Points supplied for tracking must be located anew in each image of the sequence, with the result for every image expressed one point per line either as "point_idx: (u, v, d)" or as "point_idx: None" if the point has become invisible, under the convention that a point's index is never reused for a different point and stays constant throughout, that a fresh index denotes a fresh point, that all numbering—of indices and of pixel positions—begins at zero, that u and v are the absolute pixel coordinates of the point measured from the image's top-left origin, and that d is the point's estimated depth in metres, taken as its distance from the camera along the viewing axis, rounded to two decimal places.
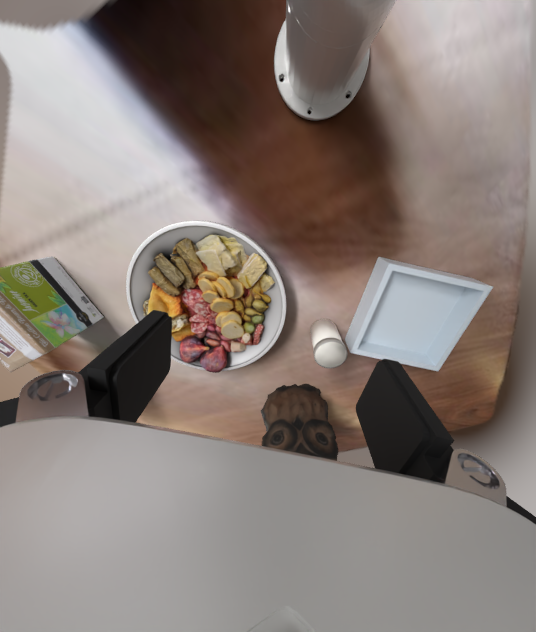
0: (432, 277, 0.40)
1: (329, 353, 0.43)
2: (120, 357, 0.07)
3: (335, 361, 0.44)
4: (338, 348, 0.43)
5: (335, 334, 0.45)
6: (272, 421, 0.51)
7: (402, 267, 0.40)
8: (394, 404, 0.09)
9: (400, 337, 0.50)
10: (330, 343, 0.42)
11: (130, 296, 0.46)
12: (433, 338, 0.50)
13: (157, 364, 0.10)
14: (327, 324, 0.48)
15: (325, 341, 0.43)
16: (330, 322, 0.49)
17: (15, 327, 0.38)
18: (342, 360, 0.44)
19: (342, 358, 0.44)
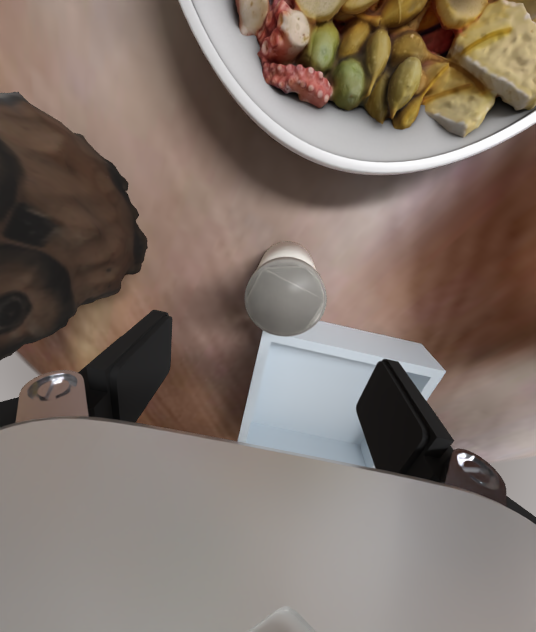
0: None
1: (290, 298, 0.17)
2: (120, 357, 0.07)
3: (266, 313, 0.18)
4: (304, 317, 0.18)
5: None
6: None
7: (432, 389, 0.24)
8: (394, 404, 0.09)
9: (278, 389, 0.31)
10: (319, 298, 0.17)
11: None
12: (277, 425, 0.34)
13: (157, 364, 0.10)
14: None
15: (323, 285, 0.17)
16: None
17: None
18: (270, 327, 0.18)
19: (275, 327, 0.18)
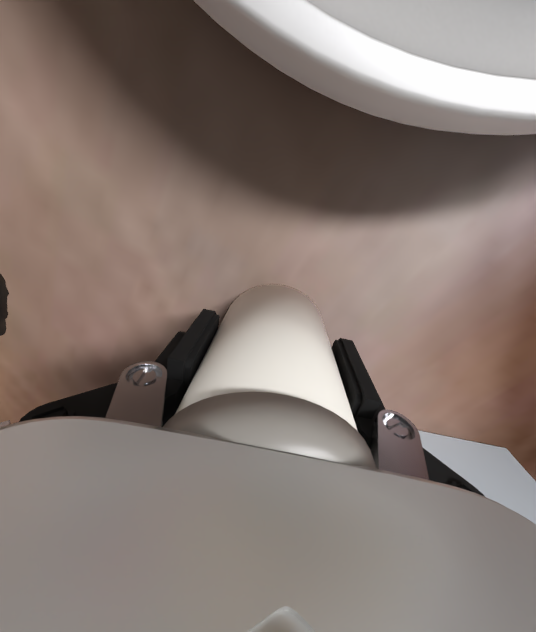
0: None
1: None
2: (191, 350, 0.08)
3: None
4: None
5: None
6: None
7: None
8: (341, 376, 0.10)
9: None
10: None
11: None
12: None
13: None
14: None
15: None
16: None
17: None
18: None
19: None
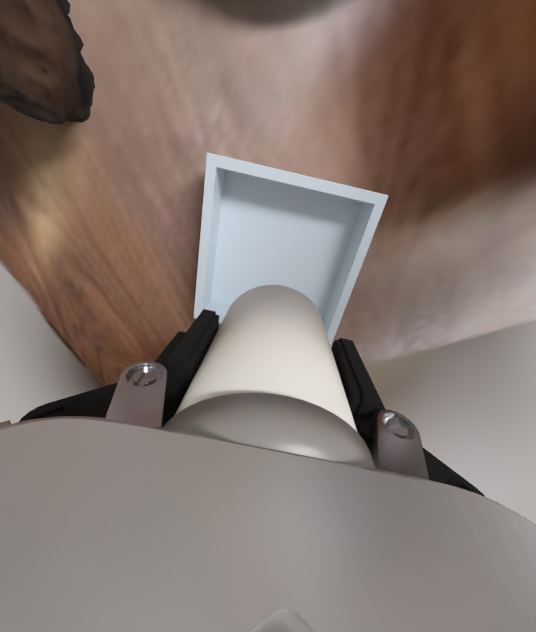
0: (353, 270, 0.27)
1: None
2: (191, 350, 0.08)
3: None
4: None
5: None
6: None
7: (377, 220, 0.25)
8: (341, 376, 0.10)
9: (236, 258, 0.31)
10: None
11: None
12: None
13: None
14: None
15: None
16: None
17: None
18: None
19: None
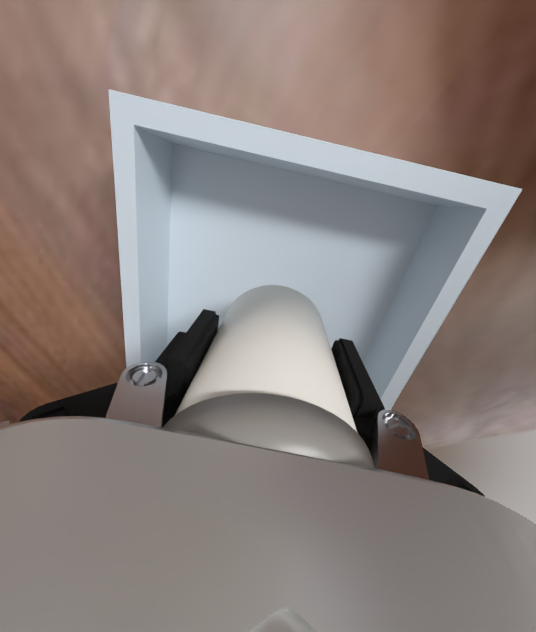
0: (421, 336, 0.14)
1: None
2: (191, 350, 0.08)
3: None
4: None
5: None
6: None
7: (486, 243, 0.12)
8: (341, 376, 0.10)
9: (203, 299, 0.18)
10: None
11: None
12: None
13: None
14: None
15: None
16: None
17: None
18: None
19: None
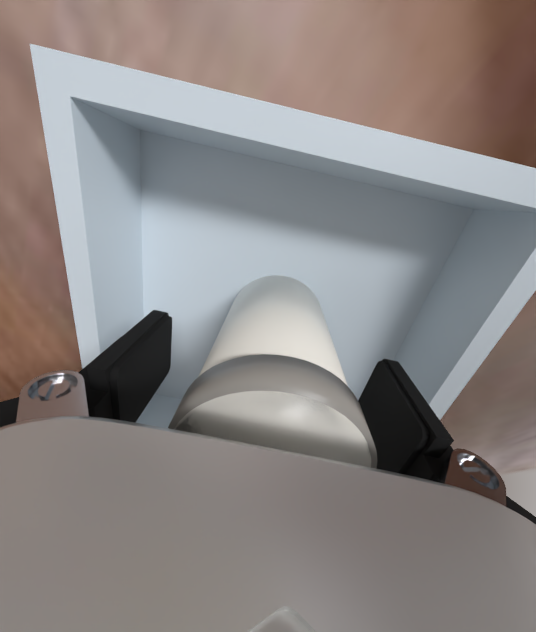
0: (456, 374, 0.11)
1: None
2: (120, 357, 0.07)
3: None
4: None
5: None
6: None
7: None
8: (394, 404, 0.09)
9: (186, 320, 0.15)
10: (358, 464, 0.06)
11: None
12: None
13: (157, 364, 0.10)
14: None
15: (370, 435, 0.06)
16: None
17: None
18: None
19: None
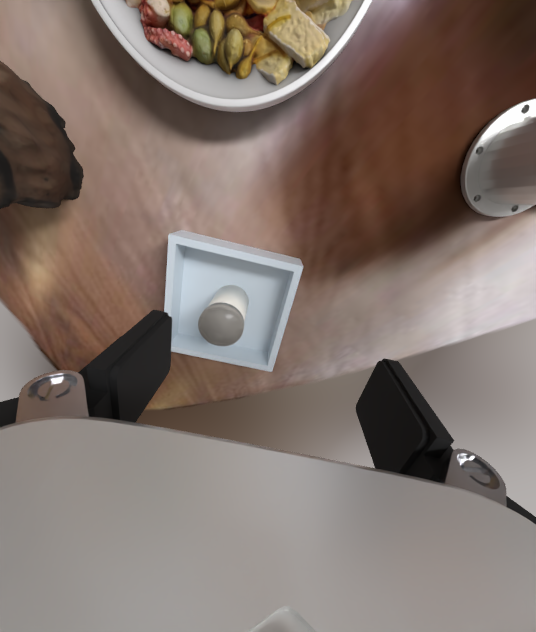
0: (283, 316, 0.36)
1: (223, 325, 0.31)
2: (120, 357, 0.07)
3: (210, 333, 0.32)
4: (232, 335, 0.32)
5: None
6: None
7: (297, 282, 0.34)
8: (394, 404, 0.09)
9: (197, 301, 0.40)
10: (239, 325, 0.31)
11: None
12: (201, 336, 0.42)
13: (157, 364, 0.10)
14: (247, 308, 0.37)
15: (241, 318, 0.31)
16: None
17: None
18: (213, 341, 0.32)
19: (216, 341, 0.32)
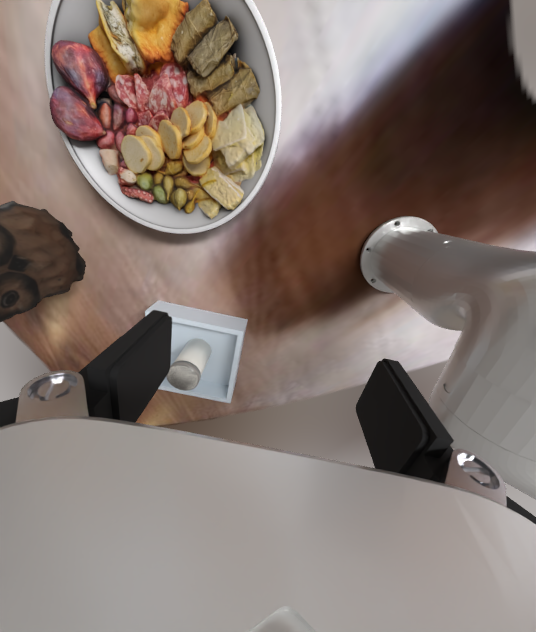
0: (234, 364, 0.48)
1: (184, 377, 0.43)
2: (120, 357, 0.07)
3: (176, 382, 0.44)
4: (191, 383, 0.44)
5: None
6: (2, 223, 0.34)
7: (241, 342, 0.45)
8: (394, 404, 0.09)
9: (172, 349, 0.52)
10: (195, 377, 0.43)
11: None
12: None
13: (157, 364, 0.10)
14: (208, 357, 0.49)
15: (196, 372, 0.43)
16: (209, 357, 0.51)
17: None
18: (178, 387, 0.44)
19: (180, 387, 0.44)
